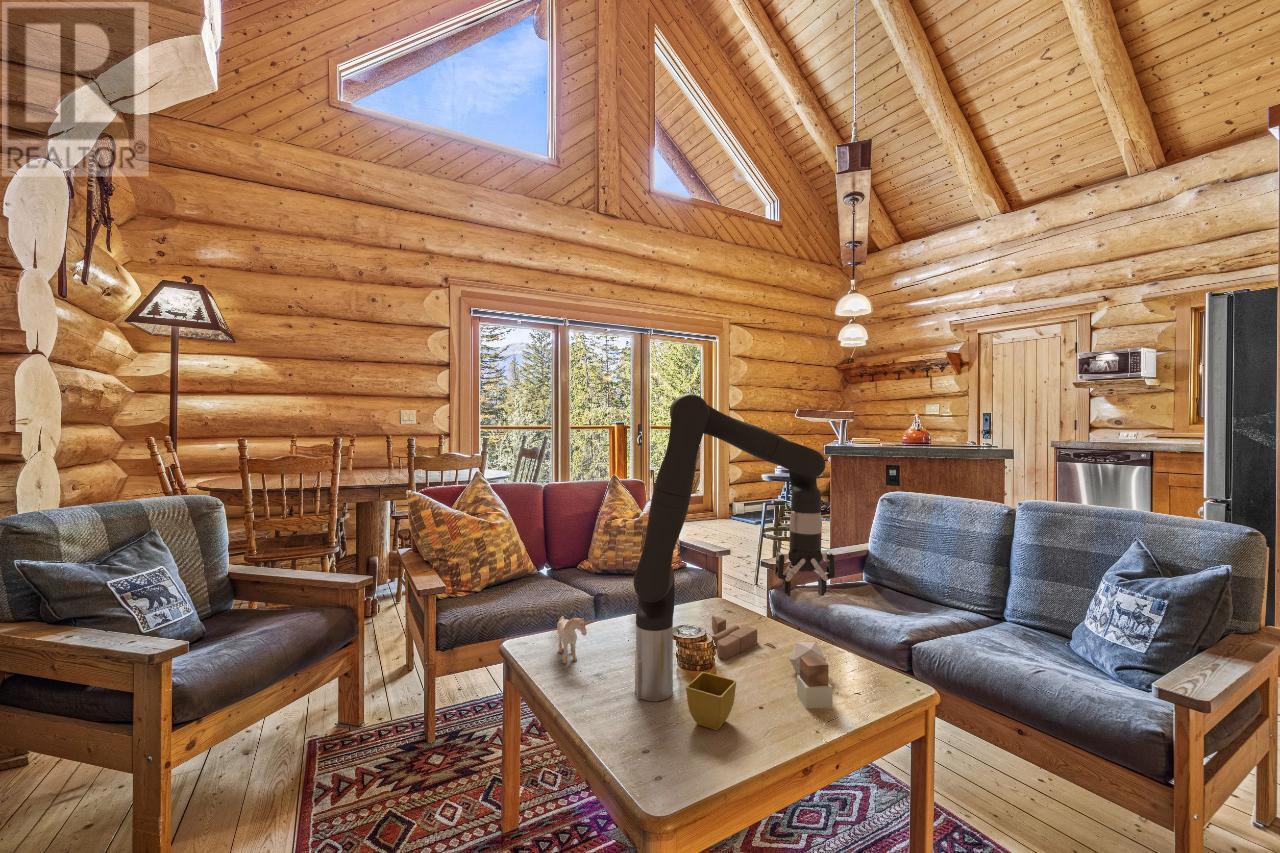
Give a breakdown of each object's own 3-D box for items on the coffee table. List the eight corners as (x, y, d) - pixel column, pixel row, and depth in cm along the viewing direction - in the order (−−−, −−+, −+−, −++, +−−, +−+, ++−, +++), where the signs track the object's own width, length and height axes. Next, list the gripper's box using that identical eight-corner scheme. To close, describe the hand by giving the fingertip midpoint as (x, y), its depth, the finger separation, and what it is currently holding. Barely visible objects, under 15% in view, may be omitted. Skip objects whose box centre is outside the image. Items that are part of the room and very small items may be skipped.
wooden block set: (759, 625, 172) (725, 642, 159) (759, 643, 173) (725, 662, 160) (714, 611, 184) (678, 627, 171) (713, 628, 184) (678, 645, 171)
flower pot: (721, 738, 121) (721, 696, 121) (684, 726, 126) (685, 686, 126) (737, 719, 129) (737, 680, 129) (702, 708, 133) (702, 671, 133)
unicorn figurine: (576, 675, 151) (576, 625, 151) (543, 650, 167) (543, 605, 166) (599, 667, 155) (599, 619, 155) (565, 644, 171) (564, 600, 171)
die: (819, 687, 145) (835, 651, 148) (788, 668, 147) (804, 632, 150) (809, 684, 153) (825, 650, 156) (779, 665, 155) (796, 632, 158)
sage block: (805, 708, 134) (805, 687, 134) (796, 695, 140) (797, 675, 140) (832, 708, 134) (832, 687, 134) (822, 694, 140) (822, 674, 140)
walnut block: (808, 686, 134) (808, 665, 134) (799, 677, 139) (799, 656, 139) (828, 685, 135) (828, 664, 135) (819, 675, 140) (819, 655, 140)
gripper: (782, 533, 135) (781, 600, 135) (840, 532, 136) (838, 599, 136) (772, 526, 142) (771, 590, 143) (827, 526, 143) (826, 589, 144)
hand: (804, 595), depth 139 cm, fingers open, 8 cm apart
